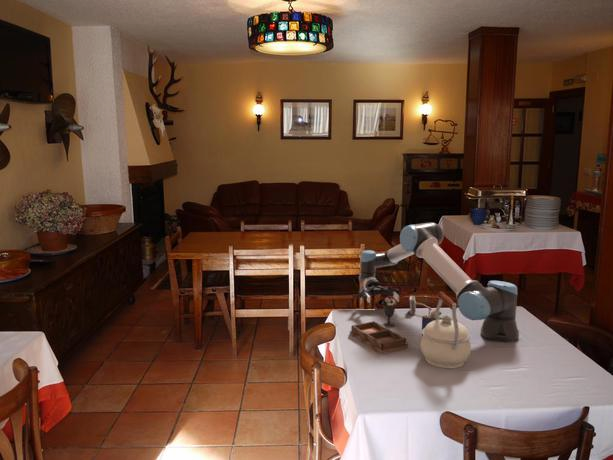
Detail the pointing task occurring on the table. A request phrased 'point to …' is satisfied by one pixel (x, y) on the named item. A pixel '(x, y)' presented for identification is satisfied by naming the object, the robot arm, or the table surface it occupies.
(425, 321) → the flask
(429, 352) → the kettle
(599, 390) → the table surface
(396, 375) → the table surface
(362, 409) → the table surface
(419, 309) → the table surface
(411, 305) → the decorative sculpture
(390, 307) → the sundae
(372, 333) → the crate
